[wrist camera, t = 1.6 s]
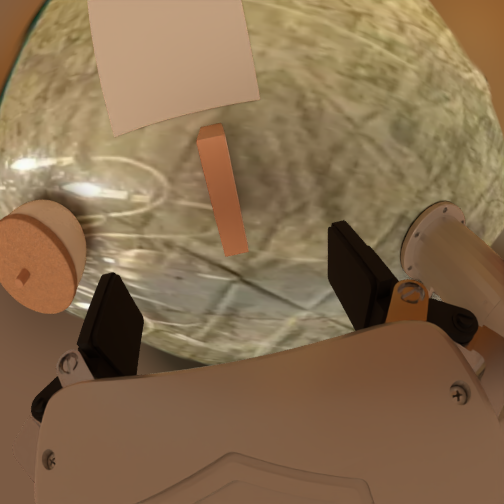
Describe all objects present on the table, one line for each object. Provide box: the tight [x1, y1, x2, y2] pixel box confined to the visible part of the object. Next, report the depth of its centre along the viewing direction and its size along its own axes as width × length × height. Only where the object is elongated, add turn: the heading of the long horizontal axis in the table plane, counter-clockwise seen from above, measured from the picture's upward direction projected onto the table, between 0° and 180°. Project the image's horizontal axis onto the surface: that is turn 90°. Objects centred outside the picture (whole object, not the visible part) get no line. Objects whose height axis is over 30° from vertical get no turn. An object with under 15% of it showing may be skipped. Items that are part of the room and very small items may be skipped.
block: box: [196, 123, 249, 256], centre depth 21 cm, size 9×2×7 cm, turn 9°
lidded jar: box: [0, 200, 86, 314], centre depth 20 cm, size 11×11×9 cm
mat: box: [88, 0, 260, 137], centre depth 16 cm, size 16×13×1 cm
